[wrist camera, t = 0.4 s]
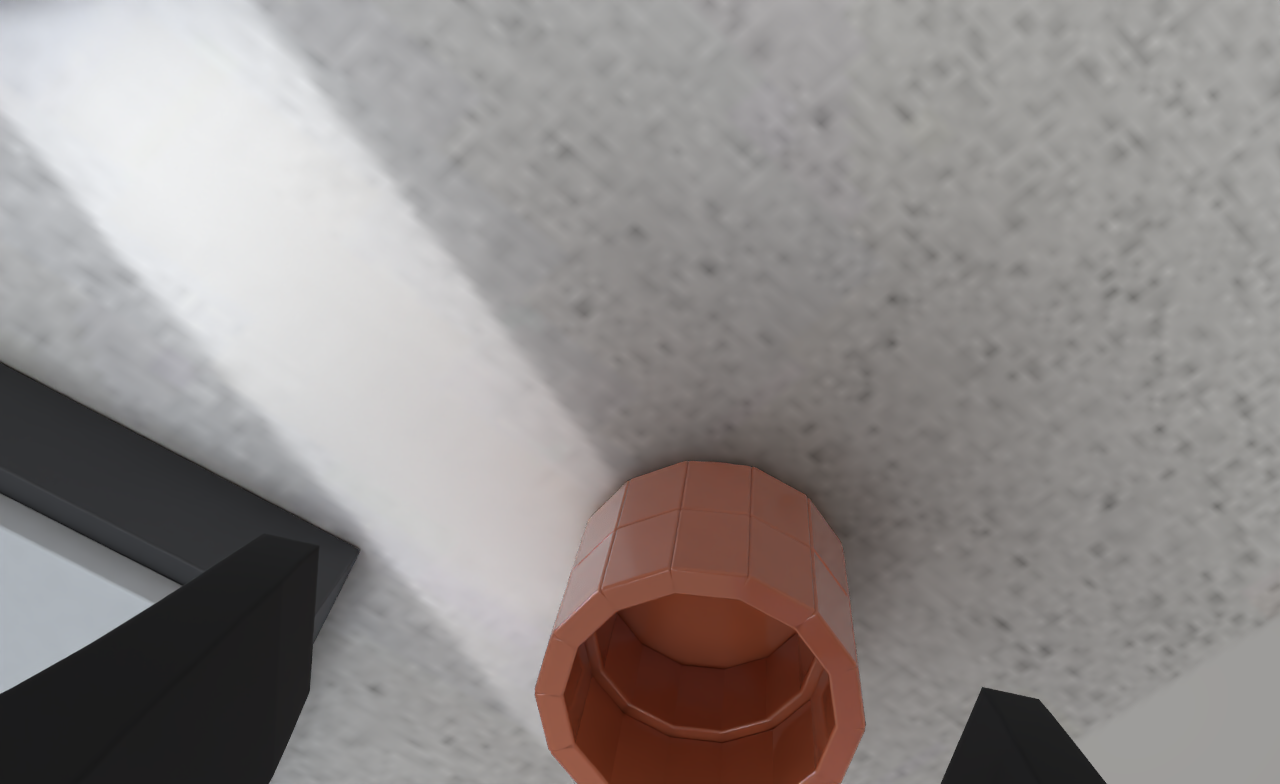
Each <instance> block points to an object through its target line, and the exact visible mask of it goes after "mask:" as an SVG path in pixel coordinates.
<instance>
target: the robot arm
mask: <svg viewBox="0 0 1280 784" xmlns="http://www.w3.org/2000/svg"><path fill="white" fill-rule="evenodd" d="M319 546H320V545H316V544H312V543H307V542H302V541H298V540H293V539H288V538H284V537H279V536H274V535H270V534H265V533H264V534H262V535H260V536H259V537H257V538H255V539H254V540H252V541H251V542H249V543H247V544H246V545H244V546H243V547H241V548H239V549H238V550H236V551H235V552H233V553H232V554H230V555H229V556H227V557H226V558H224V559H222V560H221V561H219V562H218V563H216V564H215V565H213V566H212V567H210V568H209V569H207V570H206V571H204V572H203V573H201V574H200V575H198V576H197V577H195V578H194V579H192V580H191V581H189V582H187V583H186V584H184V585H183V586H181V587H180V588H178V589H177V590H175V591H174V592H172V593H171V594H169V595H167V596H166V597H164V598H163V599H161V600H160V601H158V602H157V603H155V604H153V605H152V606H150V607H149V608H147V609H145V610H144V611H142V612H140V613H139V614H137V615H136V616H134V617H132V618H131V619H129V620H128V621H126V622H124V623H123V624H121V625H120V626H118V627H116V628H115V629H113V630H112V631H110V632H108V633H107V634H105V635H103V636H102V637H100V638H99V639H97V640H95V641H94V642H92V643H90V644H89V645H87V646H85V647H83V648H82V649H80V650H78V651H76V652H75V653H73V654H71V655H69V656H68V657H66V658H64V659H62V660H60V661H59V662H57V663H55V664H53V665H52V666H50V667H48V668H46V669H44V670H43V671H41V672H39V673H37V674H36V675H34V676H32V677H30V678H28V679H27V680H25V681H23V682H21V683H20V684H18V685H16V686H14V687H12V688H10V689H9V690H7V691H5V692H3V693H1V694H0V784H269V782H270V780H271V779H272V777H273V775H274V773H275V770H276V768H277V766H278V764H279V761H280V759H281V757H282V755H283V752H284V750H285V748H286V746H287V743H288V741H289V739H290V737H291V734H292V732H293V730H294V727H295V725H296V722H297V720H298V718H299V715H300V713H301V711H302V708H303V706H304V704H305V701H306V699H307V696H308V694H309V692H310V678H311V664H312V649H313V634H314V620H315V605H316V590H317V576H318V561H319ZM941 784H1106V782H1105V781H1104V780H1103V779H1102V777H1101V776H1100V775H1099V774H1098V772H1097V771H1096V770H1095V769H1094V767H1093V766H1092V765H1091V763H1090V762H1089V761H1088V759H1087V758H1086V757H1085V756H1084V754H1083V753H1082V752H1081V751H1080V749H1079V748H1078V747H1077V746H1076V744H1075V743H1074V742H1073V740H1072V739H1071V738H1070V737H1069V735H1068V734H1067V733H1066V731H1065V730H1064V729H1063V728H1062V726H1061V725H1060V724H1059V723H1058V722H1057V720H1056V719H1055V718H1054V717H1053V715H1052V714H1051V713H1050V712H1049V711H1048V709H1047V708H1046V707H1045V706H1044V705H1043V704H1042V702H1041V701H1040V700H1039V699H1035V698H1031V697H1026V696H1021V695H1017V694H1012V693H1007V692H1003V691H998V690H993V689H989V688H984V687H982V689H981V691H980V694H979V696H978V698H977V701H976V703H975V705H974V708H973V710H972V712H971V715H970V717H969V719H968V722H967V724H966V726H965V729H964V731H963V733H962V736H961V738H960V740H959V742H958V745H957V747H956V749H955V752H954V754H953V756H952V759H951V761H950V763H949V766H948V768H947V770H946V773H945V775H944V777H943V780H942V782H941Z"/></svg>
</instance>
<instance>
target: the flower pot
mask: <svg viewBox="0 0 1280 784" xmlns="http://www.w3.org/2000/svg"><path fill="white" fill-rule="evenodd" d="M535 698H536V702H537V706H538V710H539V713H540V717H541V721H542V725H543V729H544V733H545V737H546V741H547V745H548V749H549V750H550V751H551V754H552V755H553V756H554V758H555V759H556V760H557V761H558V762H559V763H560V764H561V766H562V767H563V768H564V769H565V770H566V771H567V773H568V774H569V775H570V776H571V777H572V778H573V779H574V781H575V782H576V783H577V784H840V783H841V782H842V780H843V778H844V776H845V774H846V771H847V769H848V767H849V765H850V763H851V760H852V758H853V756H854V754H855V752H856V749H857V747H858V745H859V743H860V741H861V738H862V736H863V734H864V732H865V726H866V722H865V714H864V706H863V698H862V690H861V682H860V674H859V666H858V658H857V650H856V642H855V634H854V627H853V619H852V611H851V603H850V595H849V587H848V579H847V571H846V563H845V555H844V549H843V547H842V544H841V541H840V540H839V538H838V537H837V536H836V534H835V533H834V531H833V530H832V529H831V527H830V526H829V525H828V523H827V522H826V520H825V519H824V518H823V516H822V515H821V513H820V512H819V511H818V509H817V508H816V507H815V505H814V504H813V502H812V501H811V500H810V499H809V498H807V496H806V495H805V494H803V493H801V492H800V491H798V490H796V489H794V488H792V487H790V486H789V485H787V484H785V483H783V482H781V481H779V480H778V479H776V478H774V477H772V476H770V475H768V474H767V473H765V472H763V471H761V470H759V469H757V468H756V467H752V468H751V467H750V466H746V465H736V464H731V463H724V462H711V461H710V462H702V461H689V462H688V461H683V462H680V463H677V464H674V465H671V466H668V467H665V468H662V469H659V470H656V471H653V472H650V473H647V474H644V475H641V476H638V477H635V478H632V479H631V480H630V481H627V482H626V483H625V484H624V485H623V486H622V487H621V488H620V489H619V490H618V491H617V492H616V493H615V494H614V495H613V496H612V497H611V498H610V499H609V500H608V501H607V502H605V503H604V504H603V505H602V506H601V507H600V508H599V509H598V510H597V511H596V512H595V513H594V514H593V515H592V516H591V517H590V519H589V522H588V523H587V524H586V527H585V531H584V534H583V537H582V540H581V543H580V546H579V549H578V552H577V555H576V558H575V561H574V565H573V568H572V571H571V574H570V577H569V580H568V583H567V586H566V589H565V592H564V595H563V598H562V601H561V604H560V607H559V611H558V614H557V617H556V620H555V623H554V626H553V629H552V632H551V635H550V639H549V642H548V645H547V649H546V652H545V656H544V659H543V662H542V666H541V669H540V672H539V676H538V679H537V683H536V686H535Z"/></svg>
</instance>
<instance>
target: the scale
mask: <svg viewBox="0 0 1280 784" xmlns="http://www.w3.org/2000/svg"><path fill="white" fill-rule="evenodd" d="M264 533H265V534H270V535H274V536H279V537H284V538H288V539H293V540H298V541H302V542H307V543H312V544H316V545H320V546H319V561H318V576H317V590H316V605H315V620H314V634H313V643H314V641H315V639H316V637H317V635H318V633H319V631H320V629H321V627H322V625H323V623H324V621H325V620H326V618H327V616H328V614H329V612H330V610H331V608H332V606H333V604H334V602H335V600H336V598H337V596H338V594H339V592H340V590H341V588H342V586H343V584H344V582H345V580H346V578H347V576H348V574H349V572H350V570H351V568H352V566H353V564H354V562H355V560H356V558H357V556H358V554H359V549H357V548H355V547H353V546H351V545H350V544H348V543H346V542H344V541H342V540H340V539H338V538H336V537H334V536H332V535H330V534H328V533H326V532H325V531H323V530H321V529H319V528H317V527H315V526H313V525H311V524H309V523H307V522H305V521H303V520H301V519H299V518H298V517H296V516H294V515H292V514H290V513H288V512H286V511H284V510H282V509H280V508H278V507H276V506H274V505H273V504H271V503H269V502H267V501H265V500H263V499H261V498H259V497H257V496H255V495H253V494H251V493H249V492H248V491H246V490H244V489H242V488H240V487H238V486H236V485H234V484H232V483H230V482H228V481H226V480H224V479H222V478H221V477H219V476H217V475H215V474H213V473H211V472H209V471H207V470H205V469H203V468H201V467H199V466H197V465H196V464H194V463H192V462H190V461H188V460H186V459H184V458H182V457H180V456H178V455H176V454H174V453H172V452H171V451H169V450H167V449H165V448H163V447H161V446H159V445H157V444H155V443H153V442H151V441H149V440H147V439H145V438H144V437H142V436H140V435H138V434H136V433H134V432H132V431H130V430H128V429H126V428H124V427H122V426H120V425H119V424H117V423H115V422H113V421H111V420H109V419H107V418H105V417H103V416H101V415H99V414H97V413H95V412H94V411H92V410H90V409H88V408H86V407H84V406H82V405H80V404H78V403H76V402H74V401H72V400H70V399H68V398H67V397H65V396H63V395H61V394H59V393H57V392H55V391H53V390H51V389H49V388H47V387H45V386H43V385H42V384H40V383H38V382H36V381H34V380H32V379H30V378H28V377H26V376H24V375H22V374H20V373H18V372H17V371H15V370H13V369H11V368H9V367H7V366H5V365H3V364H1V363H0V694H1V693H3V692H5V691H7V690H9V689H10V688H12V687H14V686H16V685H18V684H20V683H21V682H23V681H25V680H27V679H28V678H30V677H32V676H34V675H36V674H37V673H39V672H41V671H43V670H44V669H46V668H48V667H50V666H52V665H53V664H55V663H57V662H59V661H60V660H62V659H64V658H66V657H68V656H69V655H71V654H73V653H75V652H76V651H78V650H80V649H82V648H83V647H85V646H87V645H89V644H90V643H92V642H94V641H95V640H97V639H99V638H100V637H102V636H103V635H105V634H107V633H108V632H110V631H112V630H113V629H115V628H116V627H118V626H120V625H121V624H123V623H124V622H126V621H128V620H129V619H131V618H132V617H134V616H136V615H137V614H139V613H140V612H142V611H144V610H145V609H147V608H149V607H150V606H152V605H153V604H155V603H157V602H158V601H160V600H161V599H163V598H164V597H166V596H167V595H169V594H171V593H172V592H174V591H175V590H177V589H178V588H180V587H181V586H183V585H184V584H186V583H187V582H189V581H191V580H192V579H194V578H195V577H197V576H198V575H200V574H201V573H203V572H204V571H206V570H207V569H209V568H210V567H212V566H213V565H215V564H216V563H218V562H219V561H221V560H222V559H224V558H226V557H227V556H229V555H230V554H232V553H233V552H235V551H236V550H238V549H239V548H241V547H243V546H244V545H246V544H247V543H249V542H251V541H252V540H254V539H255V538H257V537H259V536H260V535H262V534H264Z"/></svg>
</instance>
